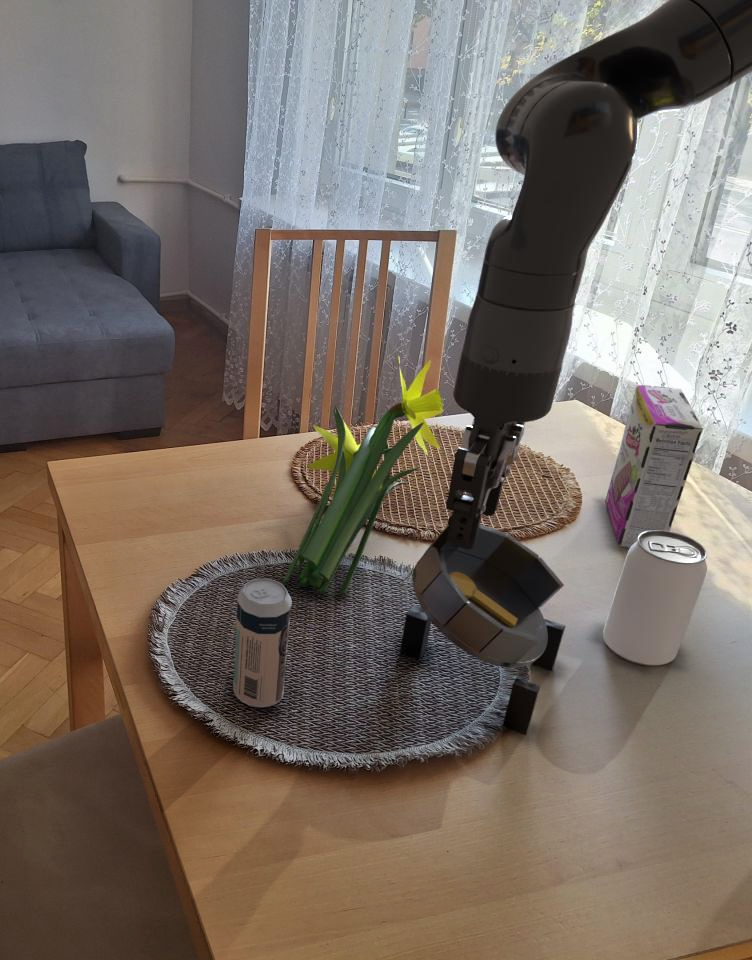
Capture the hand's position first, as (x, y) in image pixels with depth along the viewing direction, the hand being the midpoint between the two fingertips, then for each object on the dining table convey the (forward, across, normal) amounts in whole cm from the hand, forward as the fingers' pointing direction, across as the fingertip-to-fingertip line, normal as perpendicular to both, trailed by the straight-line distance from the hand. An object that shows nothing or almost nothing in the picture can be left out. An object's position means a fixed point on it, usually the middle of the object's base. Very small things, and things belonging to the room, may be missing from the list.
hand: (471, 527), depth 77 cm
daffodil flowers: (+16, +18, +16) cm, 29 cm away
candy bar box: (+16, +37, -11) cm, 42 cm away
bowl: (+8, 0, -2) cm, 8 cm away
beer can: (+16, -14, +13) cm, 25 cm away
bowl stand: (+16, 0, -3) cm, 16 cm away
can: (+16, +13, -15) cm, 25 cm away
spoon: (+7, 0, -2) cm, 8 cm away
